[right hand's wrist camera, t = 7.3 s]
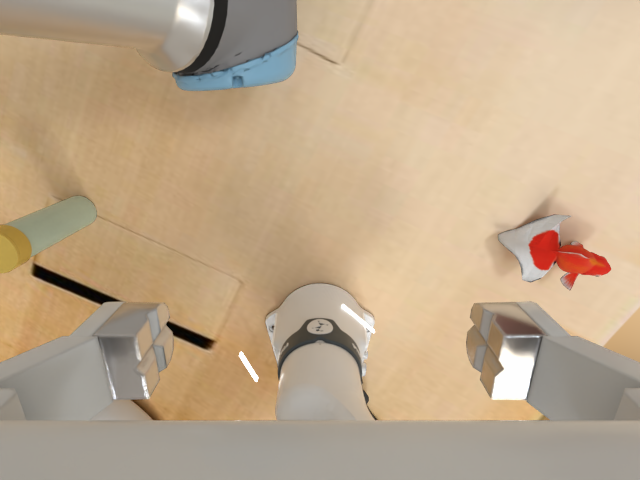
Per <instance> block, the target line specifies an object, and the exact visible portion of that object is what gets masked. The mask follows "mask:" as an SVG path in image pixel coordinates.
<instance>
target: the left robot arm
mask: <svg viewBox="0 0 640 480" xmlns="http://www.w3.org/2000/svg"><path fill="white" fill-rule="evenodd" d="M0 34H2V35H11V36H21V37H30V38H40V39H49V40H59V41H68V42H78V43H87V44H97V45H107V46H116V47H126V48H135V49H136V50H137V51H138V53H139V54H140V55H141V57H142V58H143V59H144V60H145V61H146V62H147V63H148V64H150V65H151V66H153V67H154V68H156V69H158V70H161V71H166V72H173V77H174V79H175V80H176V84H177V86H178V87H179V88H180V89H182V90H186V91H208V90H223V89H230V88H240V87H253V86H261V85H267V84H273V83H277V82H281V81H284V80H286V79H288V78H289V77H290V76H291V75H292V73H293V72H294V70H295V66H296V45H297V40H298V31H297V5H296V0H0Z"/></svg>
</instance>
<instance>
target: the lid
mask: <svg viewBox="0 0 640 480" xmlns="http://www.w3.org/2000/svg"><path fill="white" fill-rule="evenodd" d="M31 254H32V247H31V244H30V241H29V240H28V238H27V237H26V235H25V234H24V233H23V232H21V231H20V230H18V229H17V228H15V227H13V226H9V225H0V273H7V272H10V271H11V270H13V269H15V268H17V267H19V266H20V265H22V264H24V263H25V262H27V261H28V260H29V258H30V257H31Z"/></svg>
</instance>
